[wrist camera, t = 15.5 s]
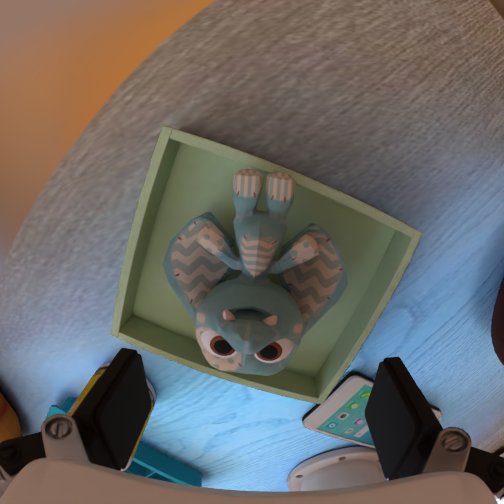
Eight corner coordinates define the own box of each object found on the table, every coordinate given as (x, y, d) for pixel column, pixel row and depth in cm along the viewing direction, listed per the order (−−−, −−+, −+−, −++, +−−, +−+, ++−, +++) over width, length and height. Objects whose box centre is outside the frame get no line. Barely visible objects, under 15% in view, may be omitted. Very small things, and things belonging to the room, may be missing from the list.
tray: (403, 222, 19) (423, 233, 16) (316, 380, 23) (321, 405, 20) (177, 130, 17) (163, 125, 15) (126, 314, 22) (110, 334, 19)
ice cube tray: (171, 494, 31) (167, 510, 28) (48, 422, 28) (38, 436, 25) (215, 474, 28) (213, 493, 25) (64, 385, 25) (52, 402, 22)
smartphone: (354, 374, 21) (445, 413, 23) (352, 367, 22) (442, 408, 24) (298, 426, 23) (397, 454, 25) (298, 419, 24) (395, 449, 26)
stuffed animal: (405, 200, 10) (335, 419, 14) (355, 178, 17) (320, 344, 21) (122, 171, 10) (144, 397, 14) (177, 159, 17) (176, 328, 21)
